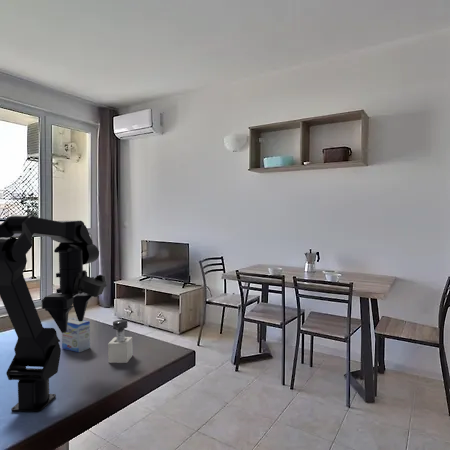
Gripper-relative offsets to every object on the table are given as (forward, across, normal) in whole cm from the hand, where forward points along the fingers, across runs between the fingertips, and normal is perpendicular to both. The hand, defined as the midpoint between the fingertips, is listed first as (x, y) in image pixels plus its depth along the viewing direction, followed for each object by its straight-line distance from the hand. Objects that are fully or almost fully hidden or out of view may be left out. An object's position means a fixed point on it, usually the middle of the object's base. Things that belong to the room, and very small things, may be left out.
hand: (72, 326), depth 92 cm
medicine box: (+12, +16, +7) cm, 21 cm away
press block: (+12, +8, -10) cm, 18 cm away
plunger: (+12, +8, -10) cm, 17 cm away
